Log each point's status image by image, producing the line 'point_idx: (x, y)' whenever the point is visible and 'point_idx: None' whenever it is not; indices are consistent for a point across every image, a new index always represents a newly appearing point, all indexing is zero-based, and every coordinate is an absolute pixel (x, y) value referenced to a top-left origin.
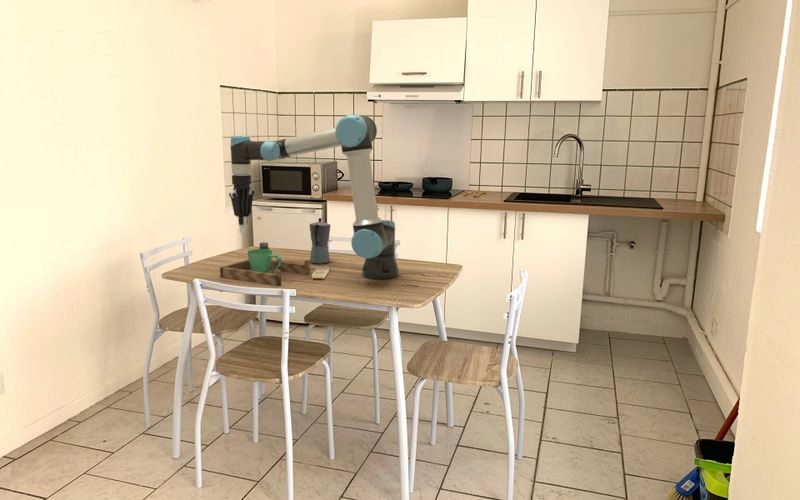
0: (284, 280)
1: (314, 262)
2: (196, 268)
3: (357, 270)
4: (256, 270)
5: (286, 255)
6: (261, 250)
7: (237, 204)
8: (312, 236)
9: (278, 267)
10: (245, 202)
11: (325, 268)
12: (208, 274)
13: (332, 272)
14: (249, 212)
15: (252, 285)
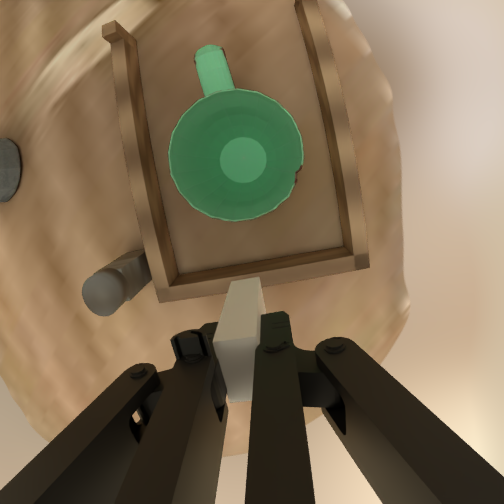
0: (241, 37)
1: (18, 160)
2: (314, 408)
3: (26, 16)
4: (275, 145)
5: (20, 325)
6: (188, 198)
7: (433, 433)
8: None
9: (148, 160)
10: (179, 489)
11: (42, 85)
12: (352, 321)
13: (69, 28)
14: (146, 375)
15: (362, 73)
